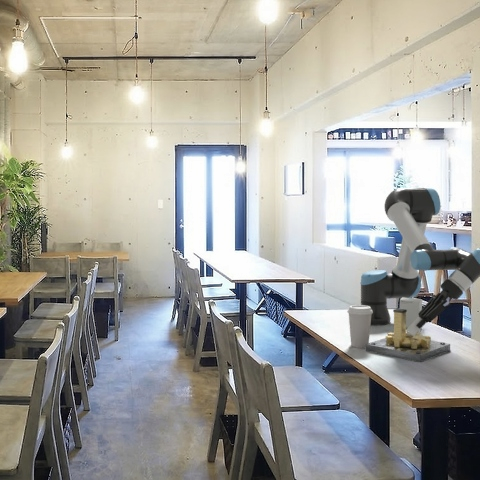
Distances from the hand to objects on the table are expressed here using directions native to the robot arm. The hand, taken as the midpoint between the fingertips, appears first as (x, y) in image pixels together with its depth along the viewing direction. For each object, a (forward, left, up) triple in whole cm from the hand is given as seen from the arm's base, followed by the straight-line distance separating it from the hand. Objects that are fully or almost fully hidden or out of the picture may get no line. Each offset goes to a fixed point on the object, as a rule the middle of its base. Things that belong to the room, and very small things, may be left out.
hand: (409, 332), depth 209 cm
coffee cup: (+2, -20, -8) cm, 22 cm away
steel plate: (-4, -3, -8) cm, 10 cm away
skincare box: (-25, -14, -8) cm, 30 cm away
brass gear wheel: (-4, -3, -5) cm, 7 cm away
